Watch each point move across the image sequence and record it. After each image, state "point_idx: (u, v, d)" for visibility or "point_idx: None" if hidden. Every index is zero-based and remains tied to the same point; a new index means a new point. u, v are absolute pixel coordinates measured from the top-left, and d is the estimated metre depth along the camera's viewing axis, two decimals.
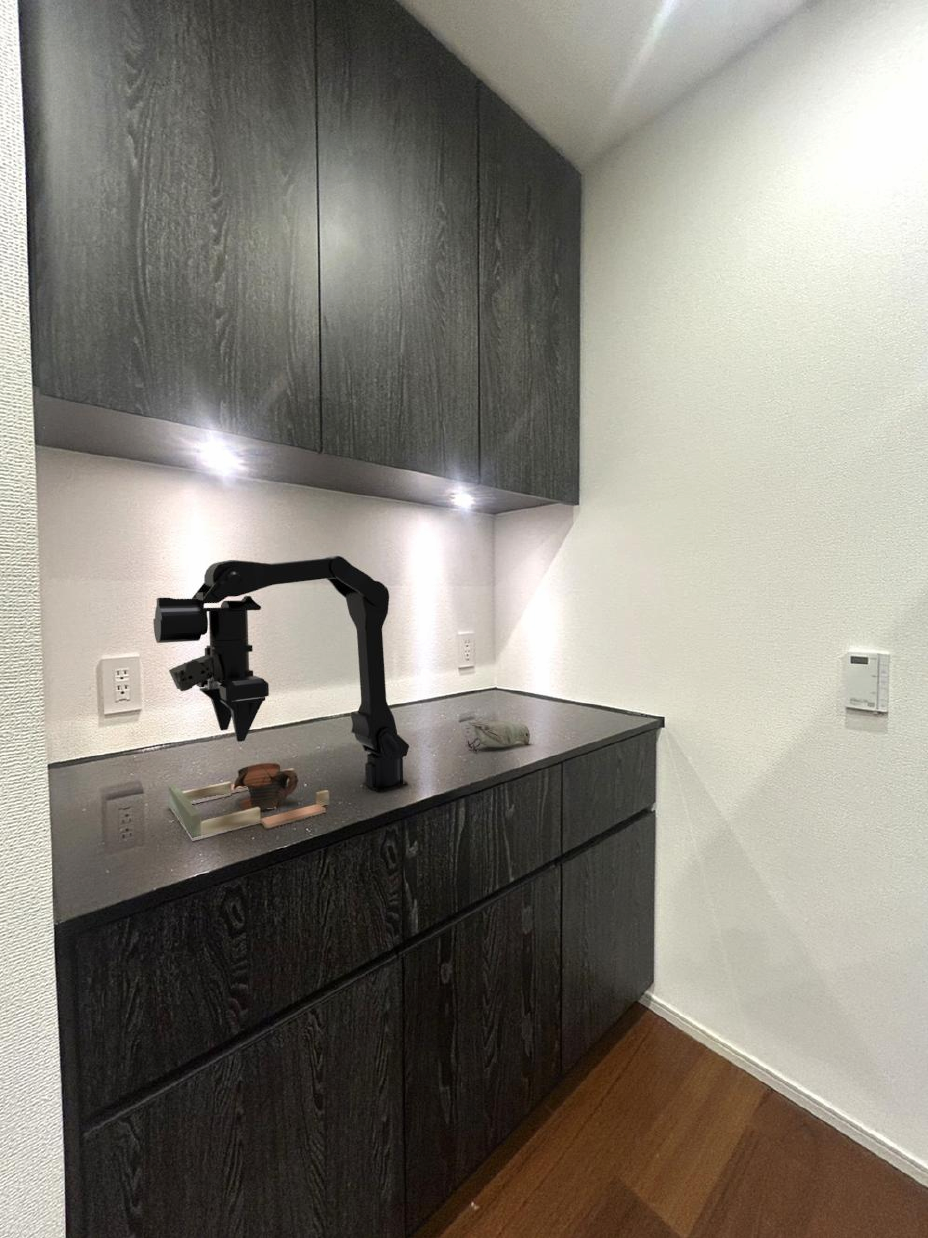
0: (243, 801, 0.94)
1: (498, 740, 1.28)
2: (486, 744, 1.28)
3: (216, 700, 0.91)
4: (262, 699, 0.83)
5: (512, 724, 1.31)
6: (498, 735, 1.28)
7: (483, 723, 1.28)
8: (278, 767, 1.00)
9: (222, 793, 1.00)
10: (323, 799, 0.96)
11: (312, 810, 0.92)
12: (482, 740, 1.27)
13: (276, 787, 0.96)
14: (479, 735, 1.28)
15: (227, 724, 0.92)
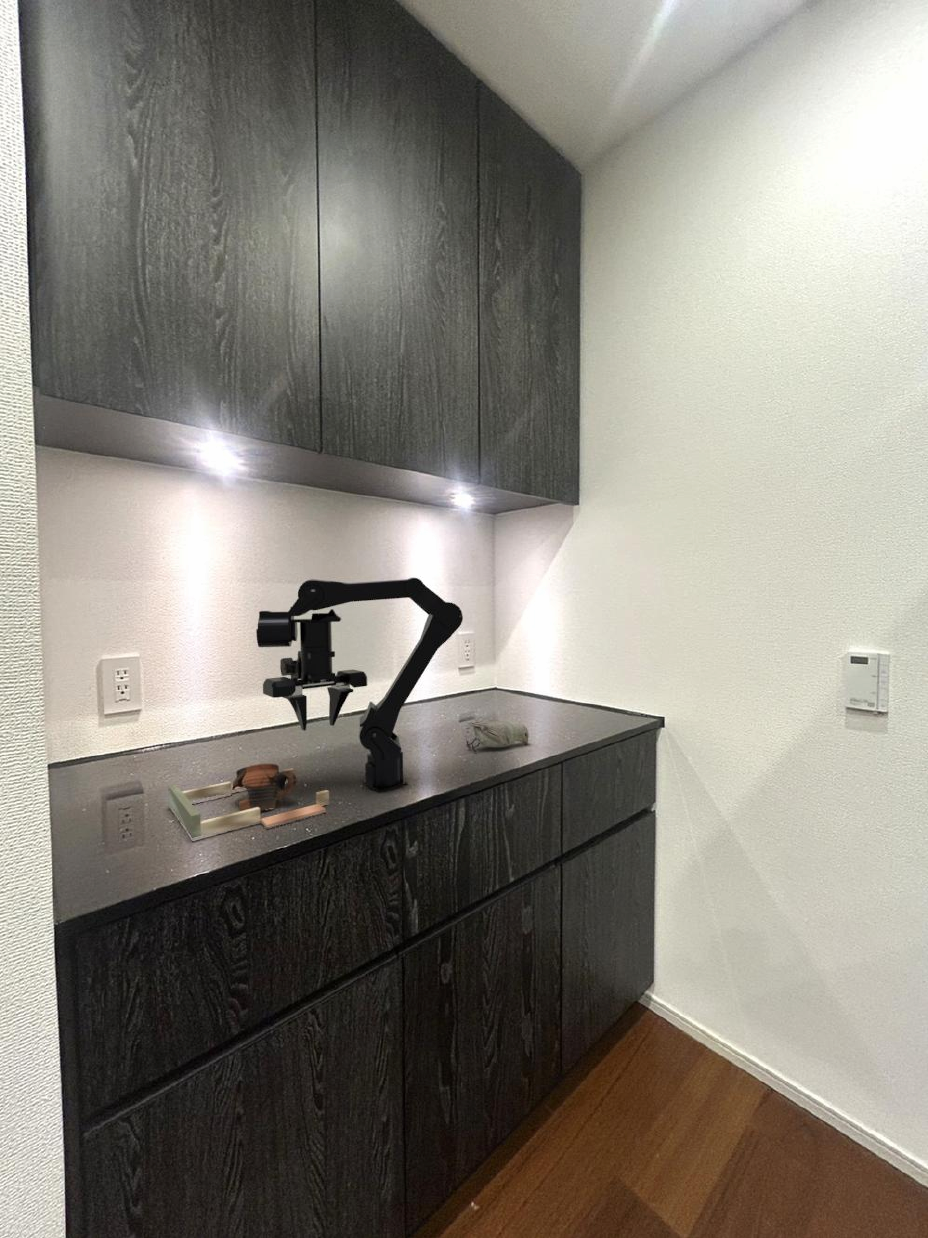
0: (241, 802, 0.93)
1: (497, 740, 1.28)
2: (485, 744, 1.28)
3: (330, 698, 1.06)
4: (289, 698, 0.98)
5: (511, 724, 1.31)
6: (497, 735, 1.28)
7: (482, 723, 1.28)
8: (277, 768, 0.99)
9: (222, 793, 1.00)
10: (323, 799, 0.96)
11: (312, 810, 0.92)
12: (481, 740, 1.27)
13: (275, 788, 0.95)
14: (478, 735, 1.28)
15: (332, 721, 1.05)
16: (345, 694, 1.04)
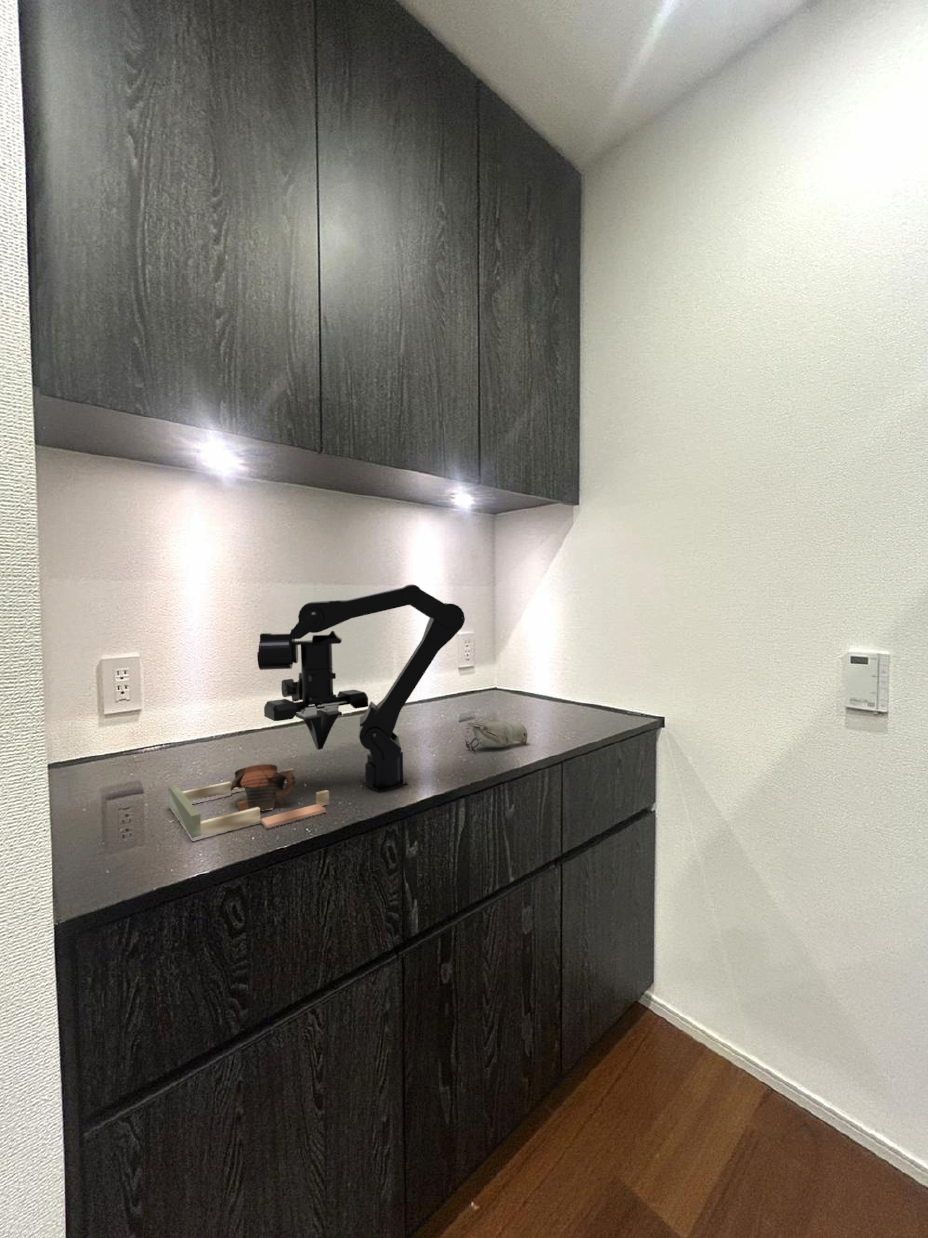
0: (240, 803, 0.93)
1: (496, 740, 1.28)
2: (484, 744, 1.28)
3: None
4: (305, 719, 0.99)
5: (510, 724, 1.31)
6: (496, 735, 1.28)
7: (481, 723, 1.28)
8: (275, 768, 0.99)
9: (222, 793, 1.00)
10: (323, 799, 0.96)
11: (312, 810, 0.92)
12: (480, 740, 1.27)
13: (273, 788, 0.95)
14: (477, 735, 1.28)
15: None
16: (333, 718, 1.03)
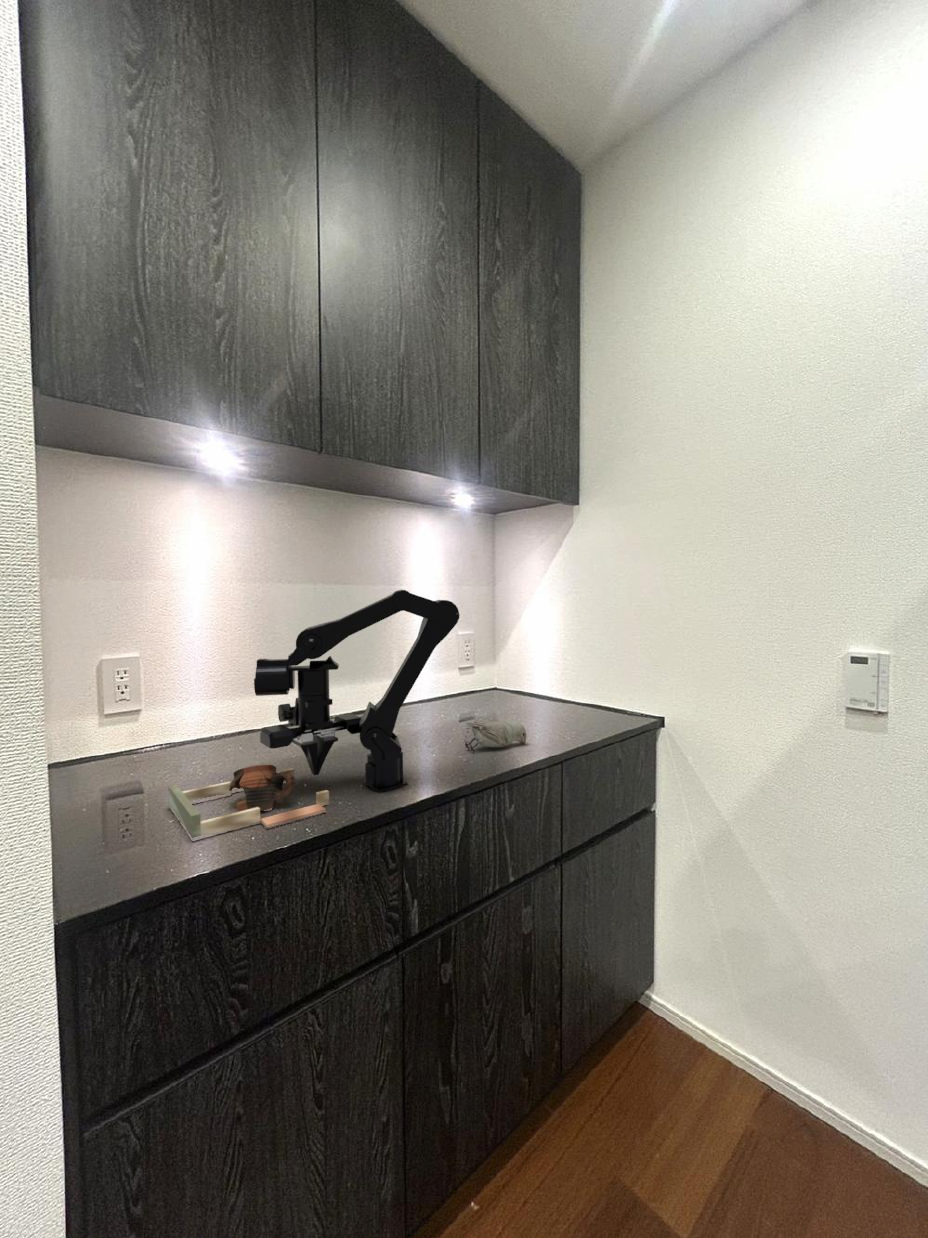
0: (239, 803, 0.93)
1: (495, 740, 1.28)
2: (483, 744, 1.28)
3: None
4: (301, 745, 0.99)
5: (509, 724, 1.31)
6: (495, 735, 1.28)
7: (480, 723, 1.28)
8: (274, 769, 0.99)
9: (222, 793, 1.00)
10: (323, 799, 0.96)
11: (312, 810, 0.92)
12: (480, 740, 1.27)
13: (272, 789, 0.95)
14: (477, 735, 1.28)
15: None
16: (330, 744, 1.02)
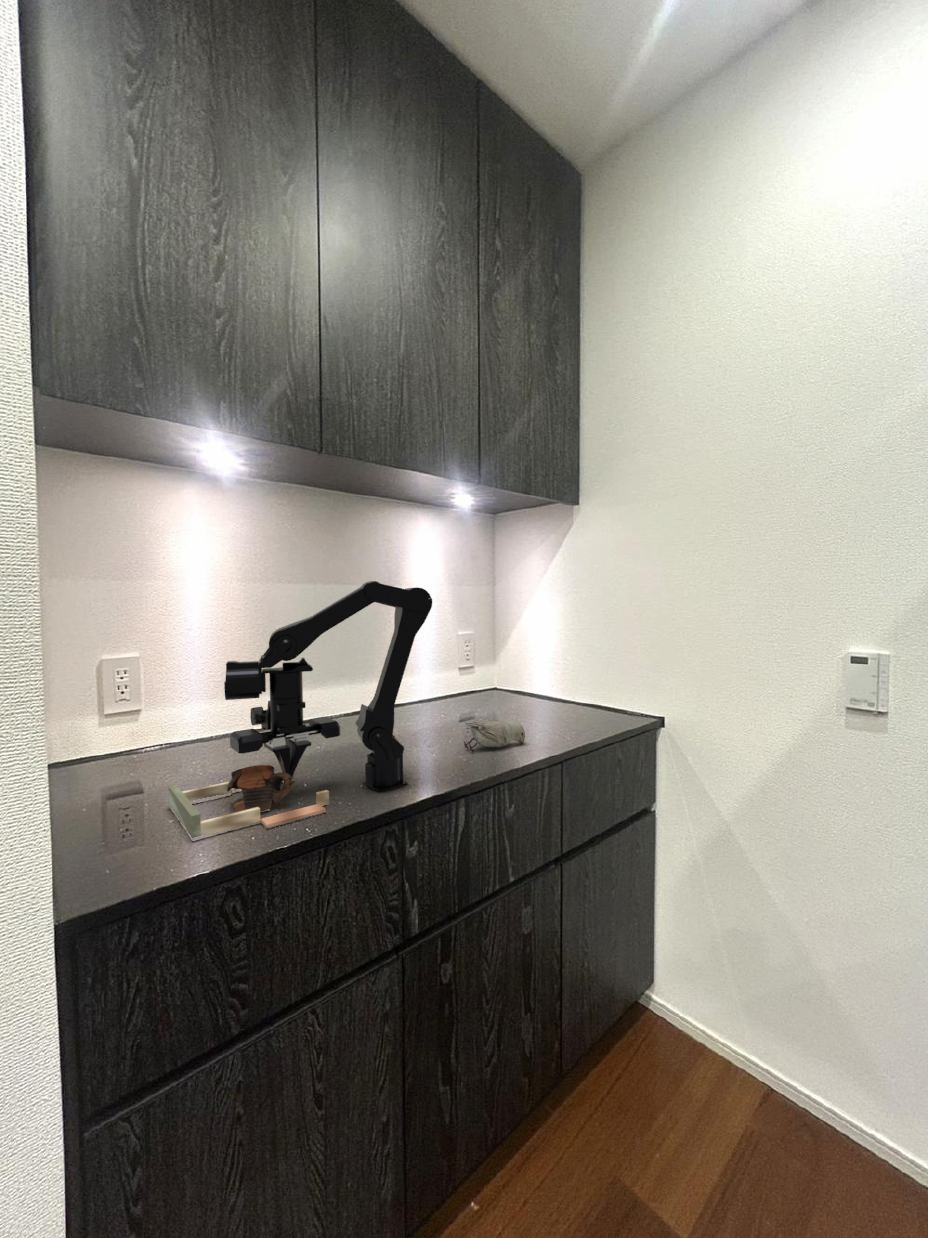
0: (237, 804, 0.92)
1: (494, 740, 1.28)
2: (482, 744, 1.28)
3: None
4: (272, 750, 0.96)
5: (508, 724, 1.31)
6: (494, 734, 1.28)
7: (479, 723, 1.28)
8: (272, 769, 0.98)
9: (222, 793, 1.00)
10: (323, 799, 0.96)
11: (312, 810, 0.92)
12: (479, 740, 1.27)
13: (270, 789, 0.94)
14: (476, 735, 1.28)
15: None
16: (302, 749, 0.99)
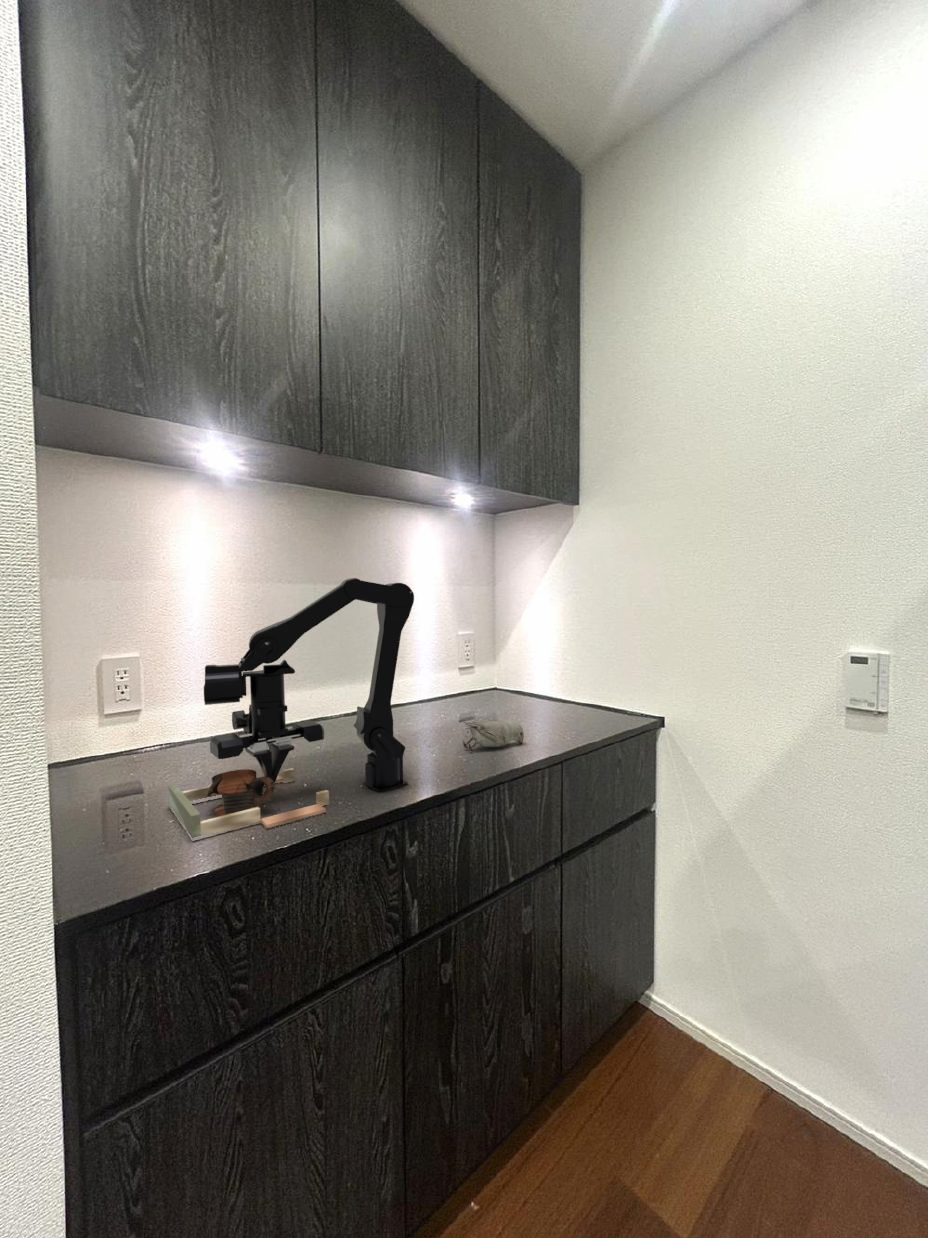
0: (217, 809, 0.90)
1: (494, 740, 1.28)
2: (482, 744, 1.29)
3: None
4: (253, 755, 0.94)
5: (507, 724, 1.32)
6: (493, 734, 1.28)
7: (479, 723, 1.28)
8: (254, 773, 0.96)
9: None
10: (323, 799, 0.96)
11: (312, 810, 0.92)
12: (478, 740, 1.27)
13: (251, 794, 0.92)
14: (475, 735, 1.28)
15: None
16: (285, 753, 0.97)
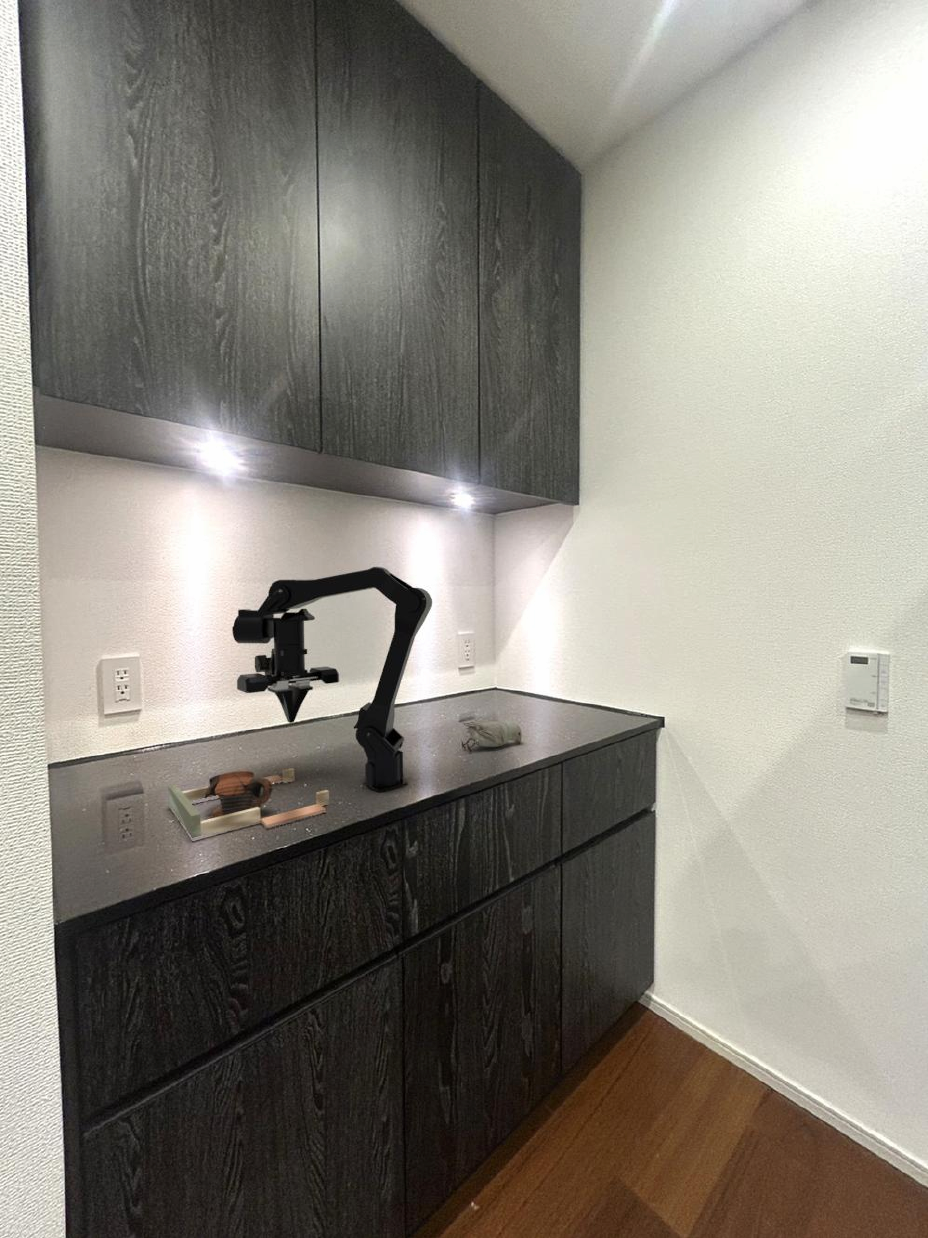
0: (214, 811, 0.89)
1: (492, 740, 1.28)
2: (480, 744, 1.29)
3: None
4: (276, 692, 1.03)
5: (505, 724, 1.32)
6: (492, 734, 1.28)
7: (477, 723, 1.28)
8: (252, 775, 0.96)
9: None
10: (323, 799, 0.96)
11: (312, 810, 0.92)
12: (476, 740, 1.27)
13: (249, 796, 0.92)
14: (473, 735, 1.28)
15: None
16: (304, 692, 1.07)
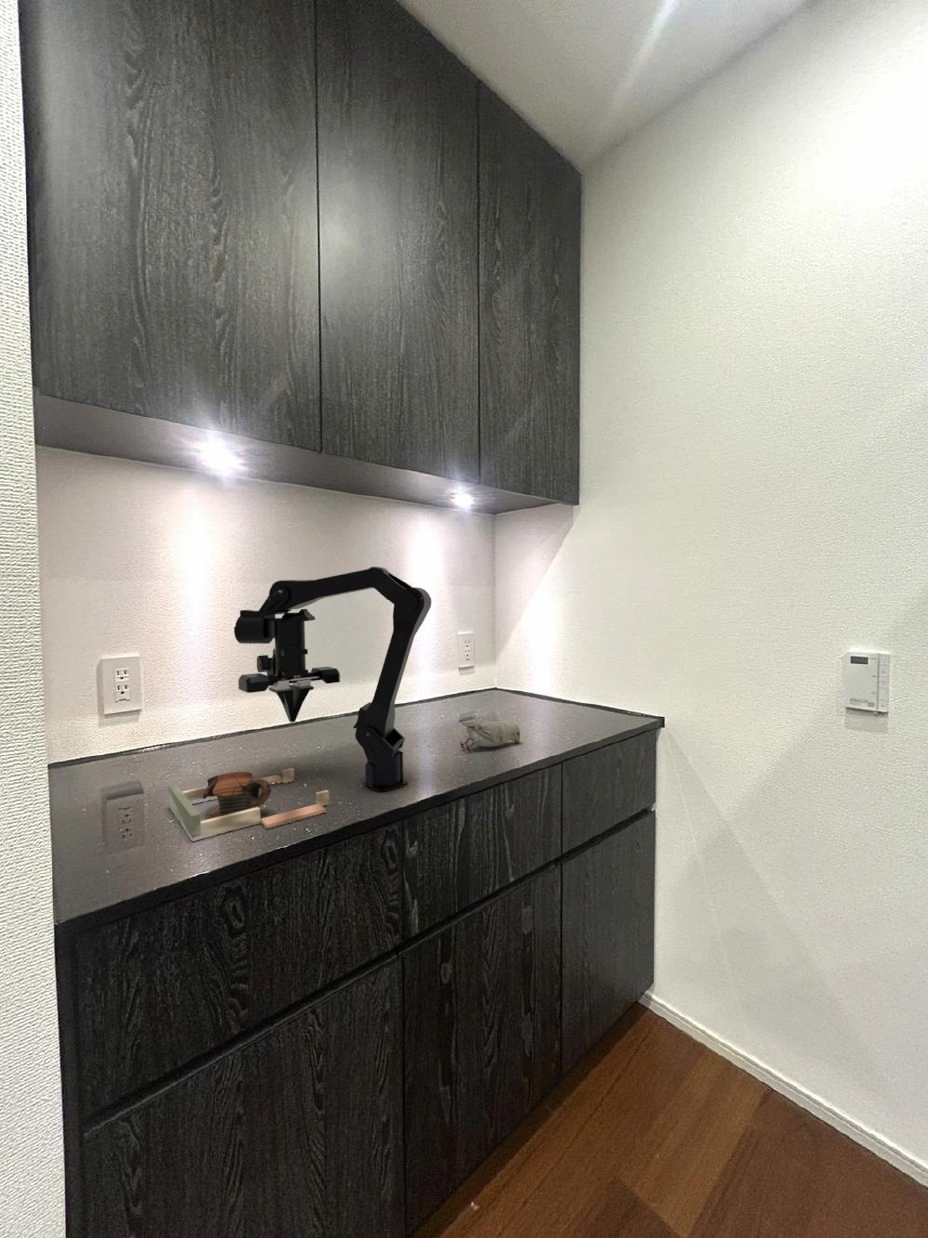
0: (212, 812, 0.89)
1: (491, 739, 1.28)
2: (479, 744, 1.29)
3: None
4: (277, 692, 1.04)
5: (504, 724, 1.32)
6: (490, 734, 1.28)
7: (476, 723, 1.28)
8: (250, 776, 0.95)
9: None
10: (323, 799, 0.96)
11: (312, 810, 0.92)
12: (475, 740, 1.27)
13: (247, 797, 0.91)
14: (472, 735, 1.28)
15: None
16: (305, 692, 1.07)
